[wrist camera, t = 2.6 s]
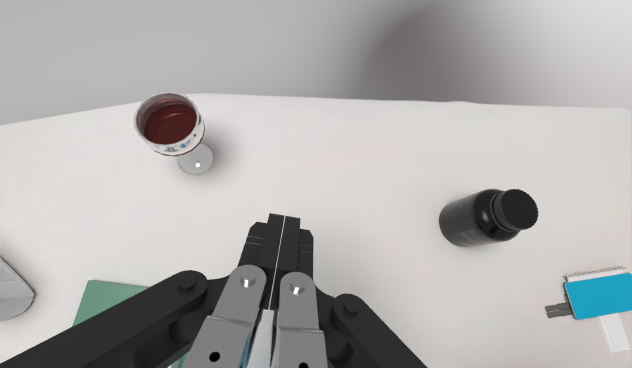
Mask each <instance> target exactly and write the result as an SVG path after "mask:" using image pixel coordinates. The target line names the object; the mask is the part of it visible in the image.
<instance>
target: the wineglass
mask: <svg viewBox="0 0 632 368" xmlns="http://www.w3.org/2000/svg"><path fill="white" fill-rule="evenodd" d="M134 126H135V129H136V131H137V133H138V135H139V136H140V137H141V138H142V139H143V140H144V141H145V142H146V144H147V145H148V146H149V147H151V148H152V149H153V150H154V151H155V152H158V153H160V154H162V155H166V156H179V157H178V163H179V166H180V168H181V169H182V170H183V171H184V172H186V173H188V174H192V175H198V174H202V173H204V172H206V171H207V170H208V169H209V168H210V167H211V165H212V164H213V159H214V157H213V153H212V151H211V149H210V148H209V147H207V146H206V145H204V144H200V142H201V141H202V139H203V136H204V131H205V127H204V121H203V118H202V116H201V114H200V113H199V111H198V109H197V107H196V105H195V104H194V102H193V101H192V100H191V99H189V98H188V97H187V96H185V95H182V94H180V93H176V92H161V93H157V94H154V95H152V96H150V97H148V98H147V99H146V100H144V101H143V102H142V103H141V104H140V106H139V107H138V108H137V110H136V113H135V116H134Z"/></svg>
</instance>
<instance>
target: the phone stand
mask: <svg viewBox="0 0 632 368" xmlns="http://www.w3.org/2000/svg"><path fill="white" fill-rule="evenodd" d="M617 267H618V266H617ZM608 268H609V267H608ZM624 268H625V267H619V268H614V269H613V268H612V269H609V270H604V269H603V270H601V271H595V272H589V273H582V274H577V275H571V274H570V275H568V276H563V277H566V278H567V279H568V282H566V283H565V289H566V292H567V294H564V295H565V296H564V297H565V300H566V303H561V304H557V305H552V306H547V307H545V309H546V312H549V313H547V315H548V318H552V317H558V316H565V315H571V314H574V316H575V318H576V319H577V320H582V319H588V318H593V317H598V320H599V323H600V326H601V329H602V331H603V334H604V337H605V340H606V343H607V346H608V348H609V351H610V353H615V352H620V351H625V350H630V349H631V347H630V344H629V341H628V339H627V336H626V333H625V331H624V328H623V325H622V322H621V320H620V317H619V314H618V313H620V312H625V311H631V310H632V275H631V274H630V273H625V271H624ZM580 272H581V271H580ZM575 274H576V272H575ZM603 276H604V277H603ZM555 310H559V311H555ZM550 311H554V312H550Z"/></svg>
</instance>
